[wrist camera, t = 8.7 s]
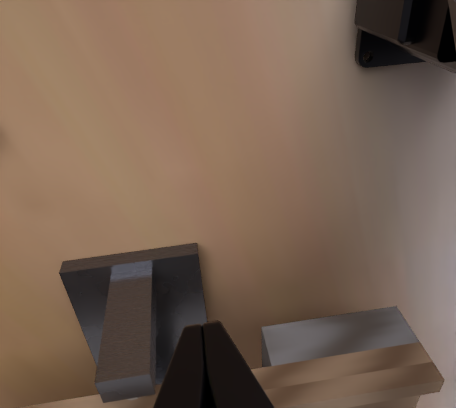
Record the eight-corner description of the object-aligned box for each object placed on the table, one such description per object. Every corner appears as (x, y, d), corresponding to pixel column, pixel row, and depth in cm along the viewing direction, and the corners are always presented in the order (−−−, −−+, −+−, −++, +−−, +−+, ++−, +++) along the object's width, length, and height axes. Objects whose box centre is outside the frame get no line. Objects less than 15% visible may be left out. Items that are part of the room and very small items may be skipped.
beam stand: (196, 243, 24) (210, 355, 17) (214, 377, 32) (228, 490, 25) (62, 261, 23) (24, 386, 17) (114, 394, 31) (102, 515, 24)
